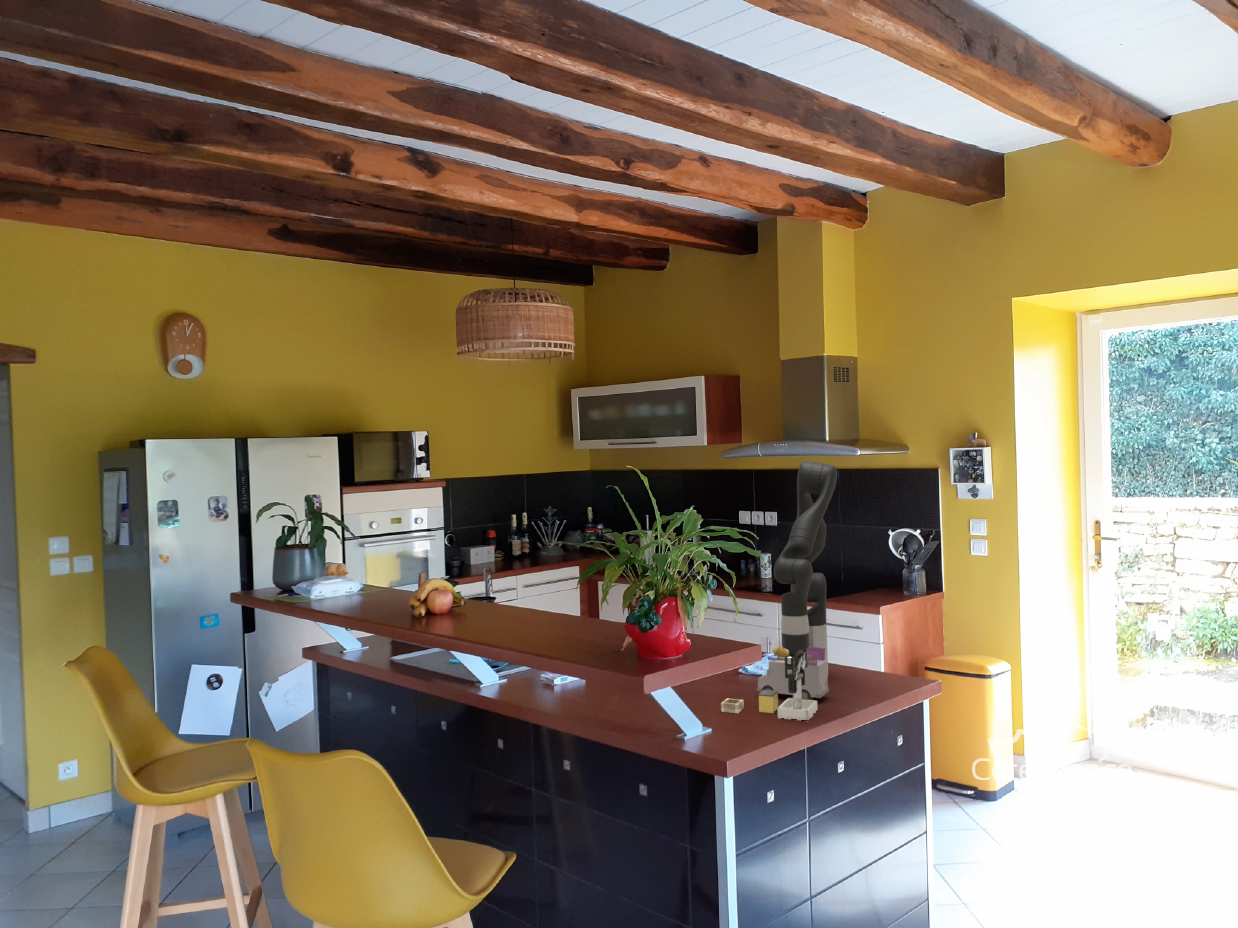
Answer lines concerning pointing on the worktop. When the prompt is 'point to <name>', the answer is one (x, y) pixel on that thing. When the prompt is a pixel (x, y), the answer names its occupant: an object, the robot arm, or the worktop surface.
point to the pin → (798, 693)
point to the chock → (768, 701)
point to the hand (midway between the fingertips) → (797, 688)
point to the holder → (732, 705)
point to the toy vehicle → (776, 672)
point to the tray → (789, 713)
